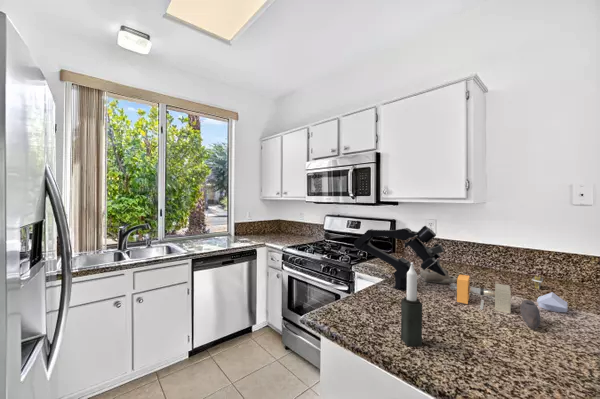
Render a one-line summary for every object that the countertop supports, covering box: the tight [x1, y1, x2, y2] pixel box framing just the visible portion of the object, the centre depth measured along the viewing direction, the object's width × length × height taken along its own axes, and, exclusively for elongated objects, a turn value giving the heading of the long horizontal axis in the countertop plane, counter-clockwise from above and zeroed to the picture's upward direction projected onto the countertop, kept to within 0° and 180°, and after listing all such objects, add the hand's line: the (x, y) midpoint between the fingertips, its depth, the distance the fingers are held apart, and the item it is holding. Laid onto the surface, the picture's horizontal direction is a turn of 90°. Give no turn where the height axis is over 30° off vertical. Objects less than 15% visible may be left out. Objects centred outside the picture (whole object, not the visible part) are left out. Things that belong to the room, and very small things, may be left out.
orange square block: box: [456, 274, 471, 305], centre depth 119 cm, size 4×10×10 cm, turn 144°
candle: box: [400, 261, 423, 347], centre depth 83 cm, size 5×5×25 cm
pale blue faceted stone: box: [536, 291, 568, 313], centre depth 111 cm, size 9×7×13 cm
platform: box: [531, 274, 544, 290], centre depth 140 cm, size 12×18×7 cm, turn 134°
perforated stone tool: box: [519, 299, 541, 330], centre depth 97 cm, size 15×5×7 cm, turn 144°
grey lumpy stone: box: [419, 267, 457, 285], centre depth 147 cm, size 16×9×15 cm
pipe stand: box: [449, 282, 512, 314], centre depth 116 cm, size 22×13×9 cm, turn 54°
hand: (444, 275), depth 124 cm, fingers closed
